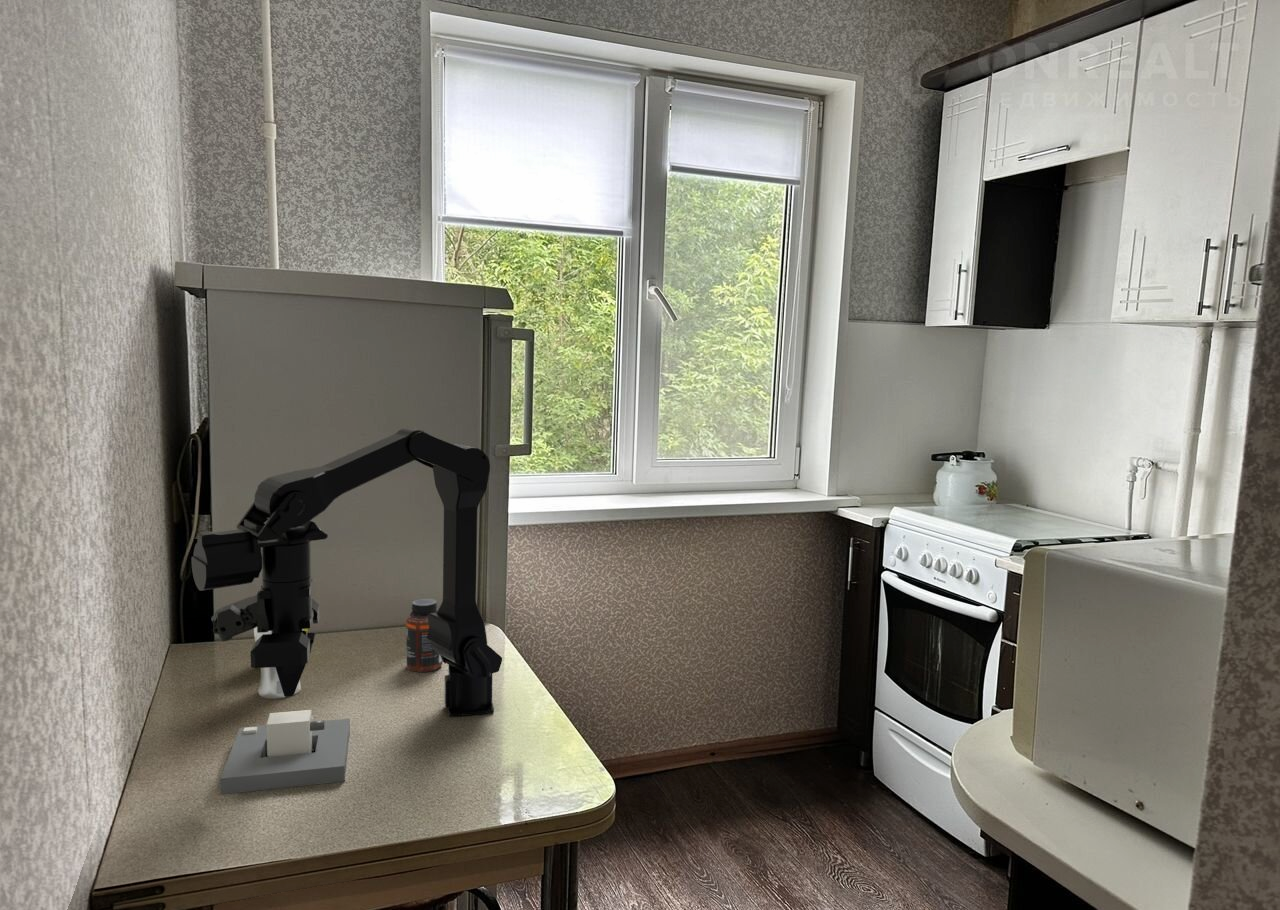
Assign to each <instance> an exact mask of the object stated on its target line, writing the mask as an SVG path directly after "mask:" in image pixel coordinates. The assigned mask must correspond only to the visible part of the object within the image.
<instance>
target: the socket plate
mask: <svg viewBox="0 0 1280 910" xmlns="http://www.w3.org/2000/svg"><path fill="white" fill-rule="evenodd" d="M350 722H351V721H350V718H339V719H326V720H325V729H324V730H317V731H312V751H315V752H312V753H304V754H293V755H283V756H273V757H267V725H257V726H248V727H247V726H246V727H239V729H238V732H237V734H236V738H235V739H234V742H233V744H232V747H231V750H230V753H229V755H228V757H227V759H226V763H225V765H224V768H223V771H222V773H221V776H220V780H219V781H220V782H219V783H220V785H219V786H220V787H219V788H220V795H228V794H230V795H231V794H237V793H238V794H239V793H248V792H256V791H257V792H258V791H265V790H273V789H275V790H276V789H283V788H293V787H303V786H312V785H313V786H314V785H321V784H331V783H339V782H340V783H342V782H345V781H346V771H347V764H348V763H347V762H348V753H349V743H350V734H351V733H350V732H351V730H350V729H351V724H350Z"/></svg>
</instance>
